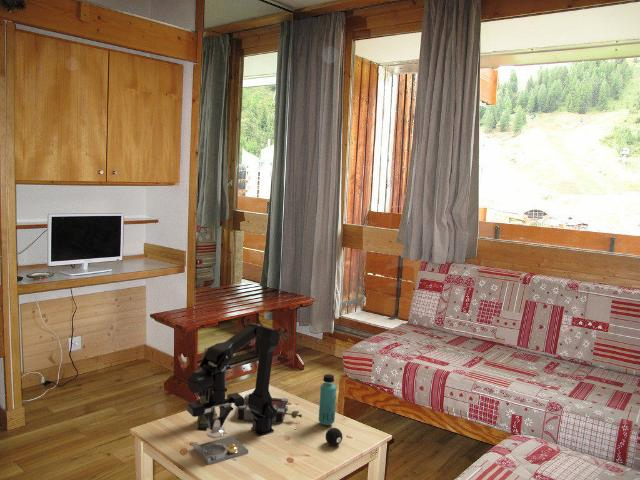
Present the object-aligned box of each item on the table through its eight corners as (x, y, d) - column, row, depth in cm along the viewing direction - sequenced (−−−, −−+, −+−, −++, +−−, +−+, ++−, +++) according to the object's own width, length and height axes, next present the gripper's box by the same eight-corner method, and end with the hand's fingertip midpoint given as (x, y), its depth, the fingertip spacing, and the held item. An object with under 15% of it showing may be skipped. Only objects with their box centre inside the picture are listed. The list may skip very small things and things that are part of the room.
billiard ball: (331, 450, 193) (332, 434, 193) (322, 443, 198) (322, 427, 198) (345, 446, 197) (346, 430, 196) (335, 439, 202) (336, 423, 201)
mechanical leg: (211, 432, 200) (217, 349, 203) (192, 431, 200) (198, 348, 203) (218, 424, 213) (224, 347, 217) (200, 423, 213) (206, 346, 217)
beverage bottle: (320, 429, 209) (323, 379, 206) (316, 421, 215) (318, 372, 213) (336, 427, 211) (339, 378, 208) (331, 420, 217) (334, 371, 215)
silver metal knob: (219, 428, 189) (220, 412, 189) (227, 435, 184) (227, 419, 184) (203, 432, 186) (203, 416, 185) (210, 439, 181) (211, 423, 180)
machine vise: (245, 405, 228) (246, 393, 227) (304, 410, 225) (305, 399, 225) (236, 420, 213) (237, 408, 212) (300, 426, 211) (300, 414, 210)
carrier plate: (232, 438, 198) (232, 429, 198) (248, 453, 188) (248, 443, 188) (193, 448, 189) (193, 439, 189) (207, 464, 180) (208, 454, 179)
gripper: (231, 371, 195) (229, 413, 197) (181, 381, 184) (180, 424, 186) (245, 382, 186) (244, 425, 188) (194, 392, 175) (193, 438, 177)
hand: (215, 428), depth 185 cm, fingers closed on silver metal knob, 3 cm apart
